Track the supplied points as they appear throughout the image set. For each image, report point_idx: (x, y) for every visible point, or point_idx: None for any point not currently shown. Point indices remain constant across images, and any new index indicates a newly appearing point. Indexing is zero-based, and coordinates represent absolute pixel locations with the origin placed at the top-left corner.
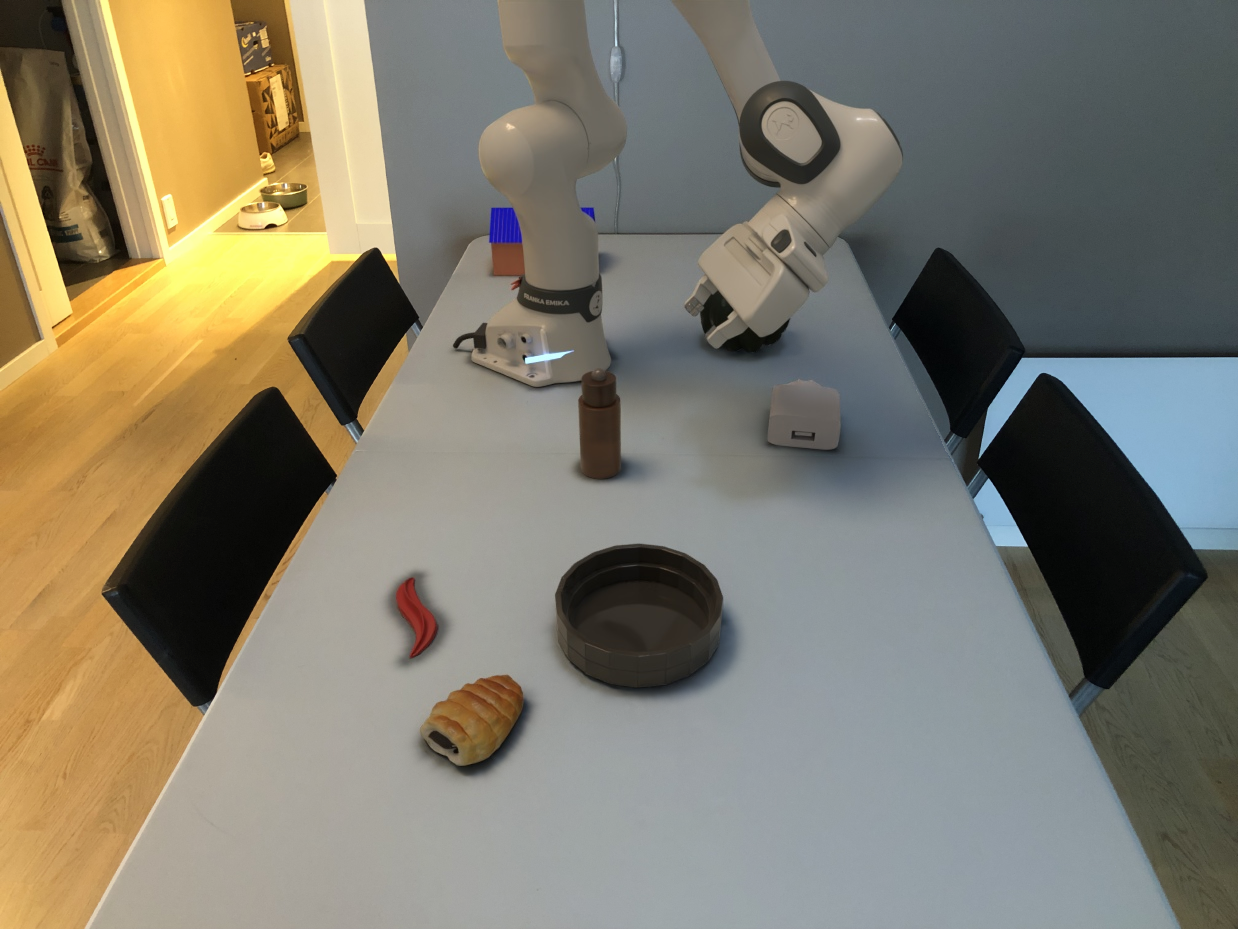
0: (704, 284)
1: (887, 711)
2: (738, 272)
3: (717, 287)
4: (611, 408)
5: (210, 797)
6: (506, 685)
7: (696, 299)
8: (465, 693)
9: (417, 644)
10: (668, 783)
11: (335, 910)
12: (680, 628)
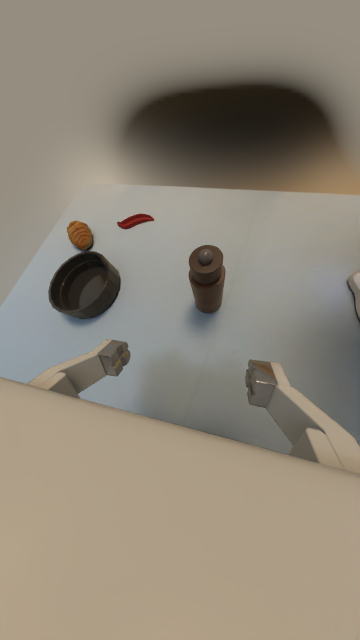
0: (303, 437)
1: (20, 358)
2: (15, 580)
3: (158, 421)
4: (189, 279)
5: (99, 190)
6: (80, 241)
7: (270, 391)
8: (77, 227)
9: (118, 222)
10: (44, 283)
11: (62, 216)
12: (82, 302)
